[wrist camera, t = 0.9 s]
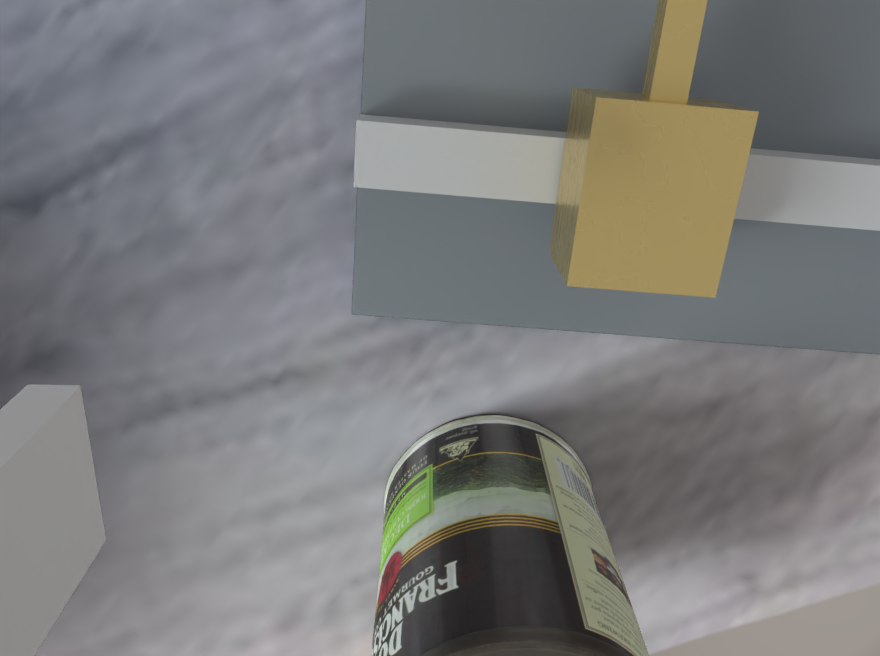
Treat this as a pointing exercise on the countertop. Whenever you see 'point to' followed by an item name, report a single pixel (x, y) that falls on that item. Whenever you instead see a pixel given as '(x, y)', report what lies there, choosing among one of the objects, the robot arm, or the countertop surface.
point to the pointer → (651, 174)
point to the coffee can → (497, 550)
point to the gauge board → (613, 55)
